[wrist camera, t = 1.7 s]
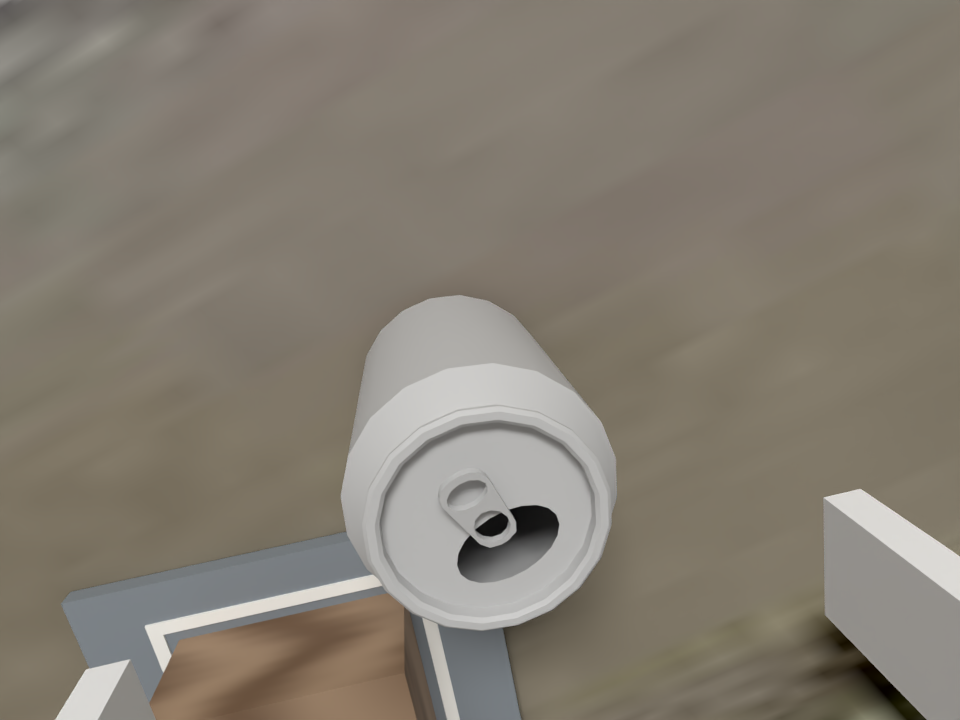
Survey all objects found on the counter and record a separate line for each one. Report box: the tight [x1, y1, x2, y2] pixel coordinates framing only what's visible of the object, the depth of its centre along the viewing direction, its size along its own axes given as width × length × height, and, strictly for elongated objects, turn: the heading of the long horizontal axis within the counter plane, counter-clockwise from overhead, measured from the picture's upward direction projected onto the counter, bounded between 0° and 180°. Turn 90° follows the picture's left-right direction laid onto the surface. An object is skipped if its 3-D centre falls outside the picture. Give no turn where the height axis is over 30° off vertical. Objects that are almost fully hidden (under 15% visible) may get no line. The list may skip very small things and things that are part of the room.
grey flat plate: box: [61, 532, 521, 720], centre depth 30 cm, size 18×16×1 cm
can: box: [341, 295, 617, 631], centre depth 21 cm, size 8×8×12 cm
